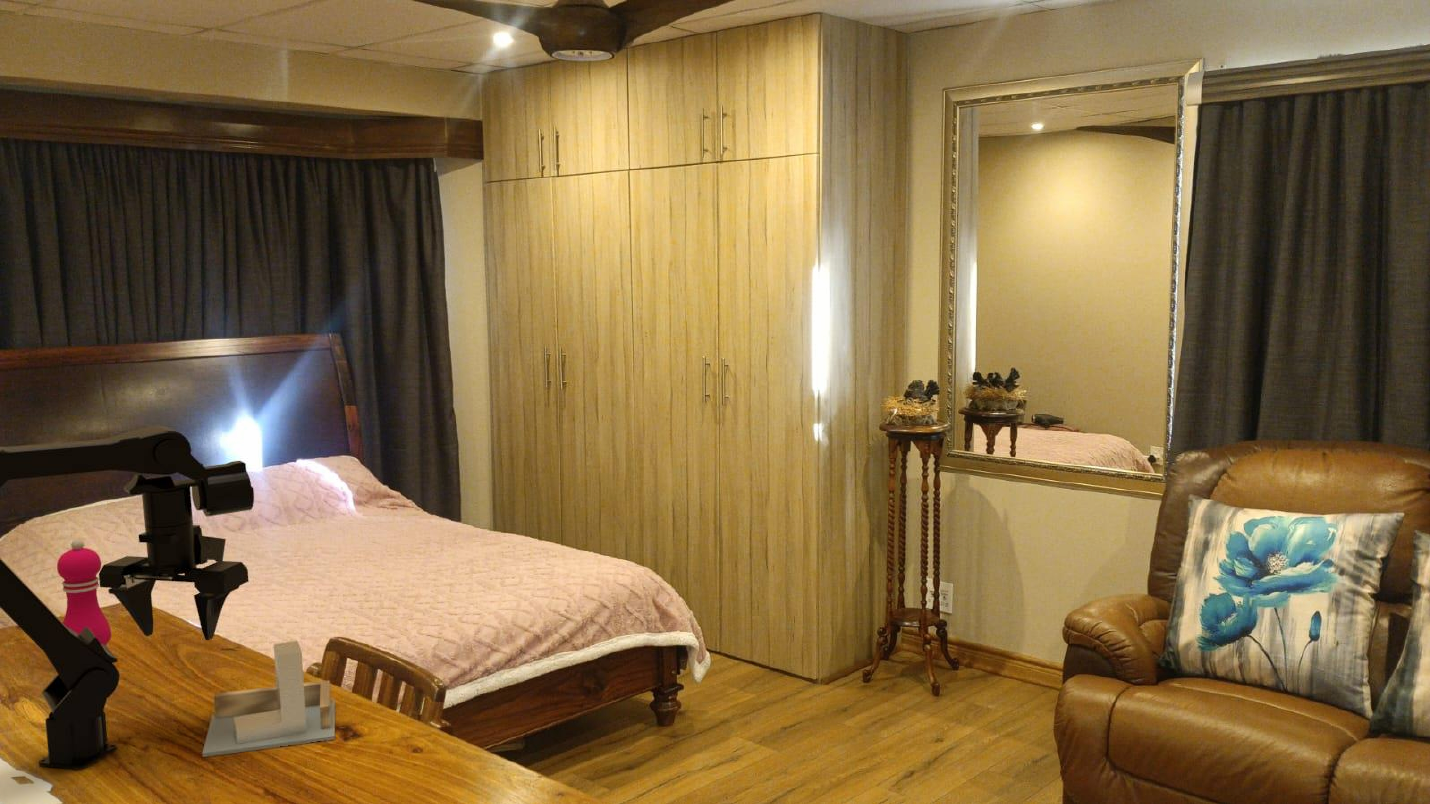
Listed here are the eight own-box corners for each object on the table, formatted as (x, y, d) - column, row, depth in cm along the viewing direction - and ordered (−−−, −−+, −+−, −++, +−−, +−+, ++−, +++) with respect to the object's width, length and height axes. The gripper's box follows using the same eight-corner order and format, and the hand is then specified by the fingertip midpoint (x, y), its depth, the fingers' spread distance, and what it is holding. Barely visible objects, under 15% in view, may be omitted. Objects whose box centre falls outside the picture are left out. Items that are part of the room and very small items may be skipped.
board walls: (209, 747, 151) (207, 721, 150) (216, 717, 160) (214, 693, 160) (330, 731, 155) (329, 706, 155) (330, 703, 165) (329, 680, 164)
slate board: (202, 757, 148) (202, 753, 148) (212, 718, 160) (212, 714, 160) (334, 739, 153) (334, 736, 153) (334, 703, 165) (334, 700, 165)
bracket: (237, 744, 150) (231, 662, 149) (234, 730, 155) (229, 650, 153) (306, 732, 154) (301, 652, 153) (301, 718, 159) (297, 640, 157)
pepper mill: (123, 656, 185) (113, 533, 183) (94, 672, 178) (84, 545, 176) (80, 655, 186) (70, 533, 183) (50, 671, 179) (39, 544, 176)
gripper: (269, 510, 158) (277, 621, 160) (150, 506, 162) (160, 614, 164) (216, 531, 147) (226, 649, 149) (90, 525, 151) (101, 640, 153)
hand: (179, 637), depth 154 cm, fingers open, 9 cm apart
